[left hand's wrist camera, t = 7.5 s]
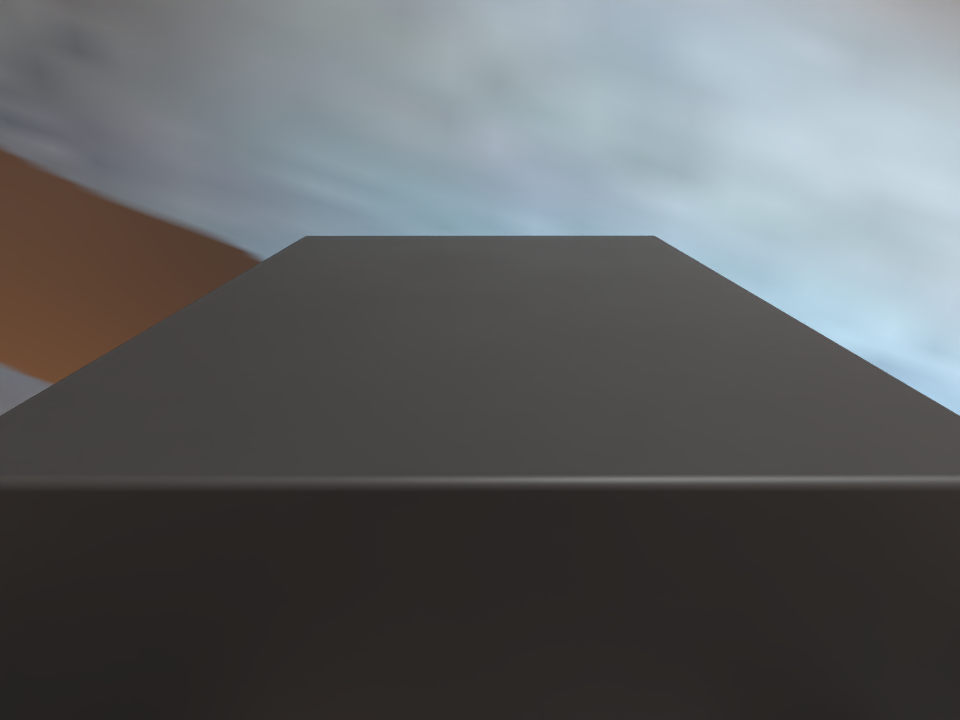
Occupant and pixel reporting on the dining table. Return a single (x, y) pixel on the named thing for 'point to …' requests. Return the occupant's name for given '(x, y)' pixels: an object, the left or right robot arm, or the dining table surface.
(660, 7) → the dining table surface
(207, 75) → the dining table surface
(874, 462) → the box
